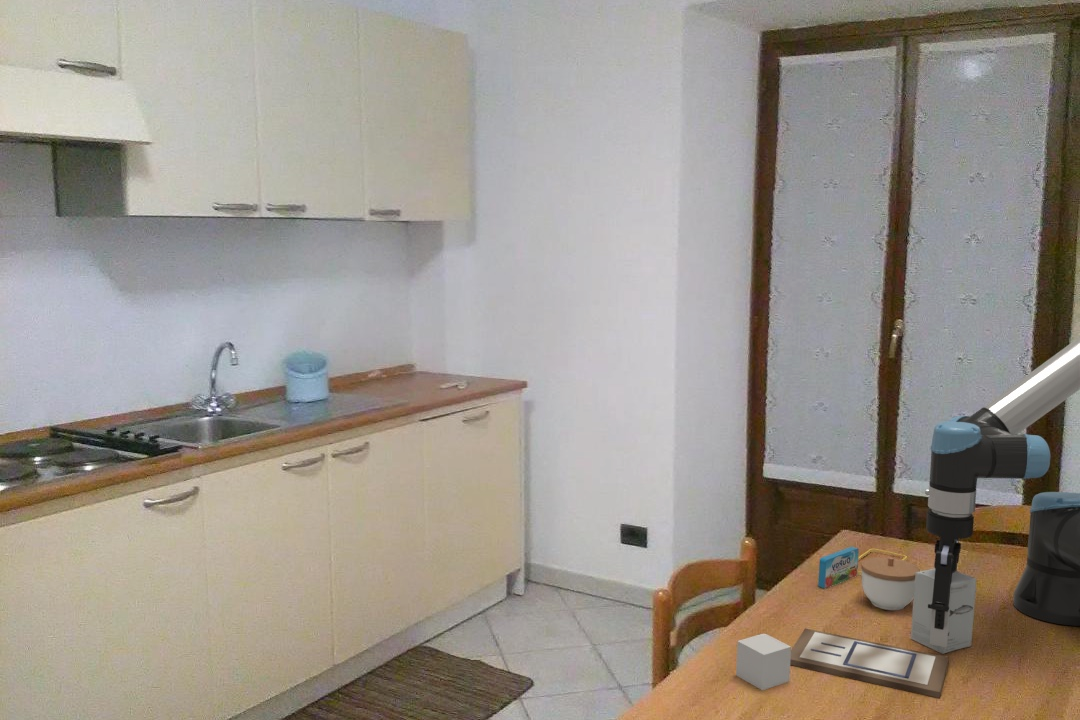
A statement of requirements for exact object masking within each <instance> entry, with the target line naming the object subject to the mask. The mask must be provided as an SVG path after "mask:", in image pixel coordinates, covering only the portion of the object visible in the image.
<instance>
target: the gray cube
mask: <svg viewBox="0 0 1080 720" xmlns="http://www.w3.org/2000/svg"><path fill="white" fill-rule="evenodd" d="M791 649H792V646H790V645H788V644H787V643H785V642H783V641H781V640H778V639H777V638H775V637H773V636H771V635H769V634H766V633H765V632H764V633H761V634H757V635H753V636H749V637H747V638H743V639H740V640H737V645H736V664H735V665H736V666H735V676H736V677H738V678H740V679H741V680H743V681H745V682H747V683H748V684H750V685H752V686H754V687H755V688H758V689H759V690H761V691H764V690H768V689H770V688H773V687H777V686H779V685H783V684H786V683H789V682H790V676H791V665H790V660H791Z"/></svg>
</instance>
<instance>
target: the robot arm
mask: <svg viewBox="0 0 1080 720" xmlns="http://www.w3.org/2000/svg"><path fill="white" fill-rule="evenodd" d="M1078 391H1080V336H1079V337H1078V338H1076V339H1075V340H1073V341H1072V342H1071V343H1069V344H1068V345H1066V346H1065V347H1064V348H1062V349H1061V350H1060V351H1058V352H1057V353H1055V354H1054V355H1053V356H1051V357H1050V358H1048V359H1047V360H1046V361H1044V362H1043V363H1042V364H1040V365H1039V366H1038V367H1036V368H1035V369H1033V370H1032V371H1030V372H1029V373H1028V374H1027V375H1026V376H1024V377H1023V378H1021V379H1020V380H1019V381H1017V382H1016V383H1015V384H1013V385H1011V386H1010V387H1009V388H1008V389H1006V390H1005V391H1003V392H1002V393H1000V394H999V395H998V396H996V397H995V398H994V399H992V400H991V401H989V402H988V403H987V404H985V405H984V406H983V407H981V408H980V409H979V410H978V411H976V412H974V413H973V414H972V415H970V416H969V415H957V416H955V417H953V418H951V419H948V420H947V421H940V422H938V423H937V424H935V426H934V428H933V434H932V438H931V439H932V440H931V445H930V453H931V454H930V466H929V467H930V470H929V472H930V473H929V486H928V489H925V490H924V494H925V496H926V495H927V496H928V500H927V501H928V502H927V506H928V508H929V509H928V510H927V511H926V519H925V520H926V522H925V523H926V525H925V529H926V531H927V532H928V533H929V534H931V535H933V536H937V537H939V538H940V539H936V541H935V544H934V553H935V556H934V566H933V567H934V568H935V578H934V588H933V599H932V604H928V608H930V609H932V617H931V630H930V644H932V645H937V646H942V647H947V637H948V624H949V611H950V610H949V599H950V587H951V581H952V573H954V572H955V571H958V563H959V560H960V553H961V549H962V543H961V542H960V541H959V540H965V539H969V538H970V537H972V535H973V534H974V522H975V517H974V515H973V513H975V511H976V501H977V484H978V479H1011V480H1012V479H1013V480H1014V479H1019V480H1020V479H1021V480H1026V479H1037V478H1038V479H1039V478H1041V477H1043V476H1045V475H1046V473H1047V472H1048V471H1049V468H1050V465H1051V458H1052V457H1051V450H1050V447H1049V444H1048V442H1047V441H1046V439H1044V438H1043V437H1042V436H1040V435H1035V434H1034V435H1033V434H1027V433H1022V434H1020V433H1021V432H1023V431H1024V430H1026V429H1027V428H1028V427H1030V426H1032V425H1033V424H1034V423H1035V422H1036V421H1038V420H1040V419H1041V418H1042V417H1044V416H1045V415H1046V414H1047V413H1049V412H1050V411H1052V410H1053V409H1055V408H1056V407H1058V406H1059V405H1060V404H1062V403H1063V402H1064V401H1065V400H1067V399H1069V398H1070V397H1071V396H1073V395H1074V394H1075V393H1077V392H1078ZM1029 514H1030V516H1029V517H1030V519H1029V530H1028V541H1027V554H1026V564H1025V568H1024V570H1023V572H1022V574H1021V577H1020V579H1019V581H1018V583H1017V585H1016V587H1015V588H1014V592H1013V600H1012V604H1013V606H1014V607H1015V609H1017V610H1018V611H1019V612H1021V613H1023V614H1024V615H1026V616H1029V617H1030V618H1034V619H1037V620H1040V621H1043V622H1048V623H1050V624H1051V623H1052V624H1056V625H1063V626H1064V625H1065V626H1073V627H1076V626H1077V627H1080V493H1078V492H1069V491H1068V492H1066V491H1065V492H1064V491H1045V492H1040V493H1038V494H1037V493H1036V494H1035V495H1034V496H1033V498H1032V501H1031V507H1030V510H1029ZM937 602H940V603H937ZM942 603H944V604H942Z"/></svg>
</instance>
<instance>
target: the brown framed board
mask: <svg viewBox="0 0 1080 720" xmlns="http://www.w3.org/2000/svg"><path fill="white" fill-rule="evenodd" d="M949 661H950V657H947V656H944V655H938V654H933V653H929V652H923V651H919V650H915V649H914V650H913V649H908V648H904V647H900V646H899V647H898V646H895V645H888V644H884V643H878V642H874V641H868V640H864V639H859V638H854V637H849V636H845V635H840V634H837V633H831V632H830V633H829V632H824V631H821V630H815V629H811V628H807V627H805V628H804V629H803V631H802V632H801V634H800V636H799V637H798V639H797V640H796V642H795V643H794V645H793V647H791V660H790V666H793V667H798V668H801V669H802V668H803V669H807V670H811V671H816V672H821V673H825V674H829V675H834V676H839V677H842V678H848V679H852V680H855V681H860V682H865V683H869V684H874V685H879V686H884V687H888V688H893V689H897V690H902V691H904V692H905V691H906V692H910V693H914V694H919V695H923V696H928V697H932V698H937V699H940V697H941V693H942V690H943V686H944V682H945V678H946V675H947V671H948V666H949Z"/></svg>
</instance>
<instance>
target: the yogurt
mask: <svg viewBox="0 0 1080 720" xmlns="http://www.w3.org/2000/svg"><path fill="white" fill-rule="evenodd" d="M859 550H860V549H859V548H857V547H854V546H849V547H847V548H845V549H841V550H839V551H836V552H833V553H831V554H828V555H825V556H822V557H820V558H819V565H818V566H819V568H818V585H817V587H818V588H821V587H822V588H821V589H825V588H826V589H828V588H827V587H829V588H831V587H833V586H832V585H834V586H836V585H838V583H839V584H841V583H843V581H844V582H846V581H848V579H849V580H850V578H851V579H853V578H852V577H854V578H855V576H856V577H857V576H858V575H857V571H858V566H859V561H858V557H859V552H860V551H859ZM845 580H846V581H845ZM840 582H841V583H840ZM835 584H836V585H835ZM830 586H831V587H830ZM826 589H825V590H826Z"/></svg>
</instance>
